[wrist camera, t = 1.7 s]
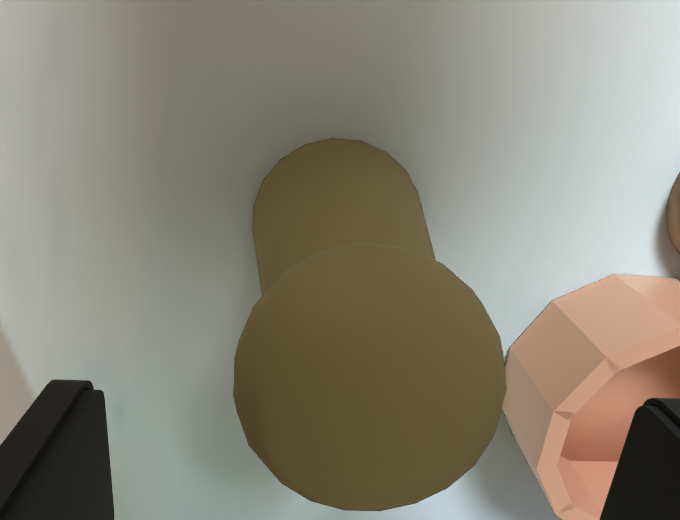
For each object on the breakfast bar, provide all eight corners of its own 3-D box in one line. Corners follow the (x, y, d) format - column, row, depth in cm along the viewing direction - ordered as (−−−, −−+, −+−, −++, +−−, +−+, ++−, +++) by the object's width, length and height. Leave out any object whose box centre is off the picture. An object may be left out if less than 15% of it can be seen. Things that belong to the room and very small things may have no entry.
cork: (445, 162, 18) (622, 314, 8) (393, 314, 21) (484, 582, 10) (272, 117, 17) (233, 228, 7) (237, 281, 20) (169, 542, 9)
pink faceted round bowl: (528, 269, 20) (579, 321, 17) (755, 282, 21) (851, 333, 17) (482, 461, 24) (516, 540, 20) (678, 465, 25) (745, 540, 21)
